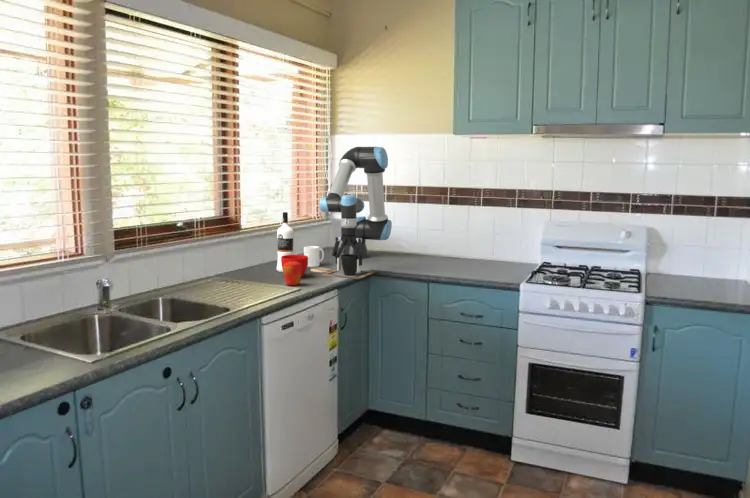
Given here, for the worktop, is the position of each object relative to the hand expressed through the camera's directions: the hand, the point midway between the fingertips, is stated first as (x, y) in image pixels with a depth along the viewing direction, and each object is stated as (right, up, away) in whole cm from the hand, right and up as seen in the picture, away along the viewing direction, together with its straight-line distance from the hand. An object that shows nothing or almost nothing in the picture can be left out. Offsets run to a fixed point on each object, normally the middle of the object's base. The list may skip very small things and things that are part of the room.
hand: (348, 271), depth 311 cm
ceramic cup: (-25, -3, -7) cm, 26 cm away
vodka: (-32, 0, +7) cm, 33 cm away
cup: (-19, +2, +24) cm, 31 cm away
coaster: (-14, 0, +9) cm, 17 cm away
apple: (-24, -6, -27) cm, 37 cm away
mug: (0, -1, 0) cm, 2 cm away
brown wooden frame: (0, -1, 0) cm, 1 cm away
